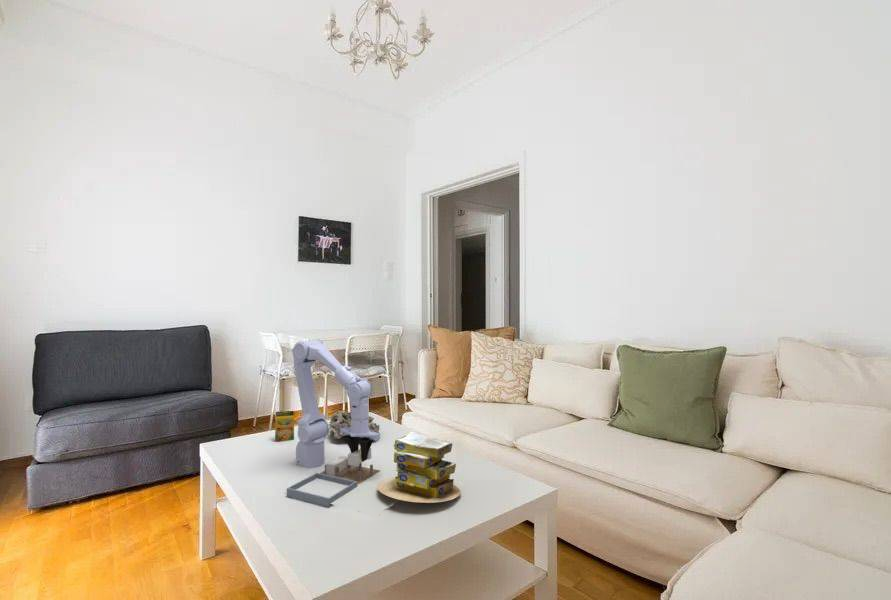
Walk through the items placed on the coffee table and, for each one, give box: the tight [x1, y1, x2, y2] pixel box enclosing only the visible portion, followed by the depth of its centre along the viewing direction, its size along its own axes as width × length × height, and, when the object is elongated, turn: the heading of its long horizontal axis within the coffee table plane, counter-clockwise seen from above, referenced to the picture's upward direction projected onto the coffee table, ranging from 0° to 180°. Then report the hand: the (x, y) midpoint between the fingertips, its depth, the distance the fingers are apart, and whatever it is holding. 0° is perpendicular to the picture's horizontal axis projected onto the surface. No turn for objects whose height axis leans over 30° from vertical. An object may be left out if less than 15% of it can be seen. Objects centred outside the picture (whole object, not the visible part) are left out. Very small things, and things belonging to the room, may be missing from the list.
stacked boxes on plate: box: [376, 431, 461, 504], centre depth 135 cm, size 25×25×17 cm
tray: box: [286, 472, 358, 509], centre depth 136 cm, size 16×13×2 cm
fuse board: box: [320, 462, 381, 485], centre depth 149 cm, size 17×12×4 cm
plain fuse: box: [325, 455, 348, 475], centre depth 151 cm, size 3×8×3 cm, turn 154°
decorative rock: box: [328, 411, 380, 439], centre depth 191 cm, size 22×26×10 cm
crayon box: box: [274, 410, 295, 442], centre depth 186 cm, size 7×3×12 cm, turn 111°
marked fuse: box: [347, 447, 372, 466], centre depth 147 cm, size 3×8×3 cm, turn 154°
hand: (359, 459), depth 147 cm, fingers closed on marked fuse, 3 cm apart
